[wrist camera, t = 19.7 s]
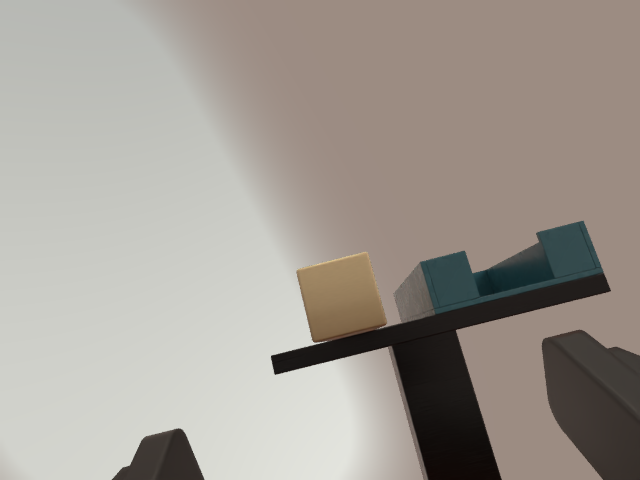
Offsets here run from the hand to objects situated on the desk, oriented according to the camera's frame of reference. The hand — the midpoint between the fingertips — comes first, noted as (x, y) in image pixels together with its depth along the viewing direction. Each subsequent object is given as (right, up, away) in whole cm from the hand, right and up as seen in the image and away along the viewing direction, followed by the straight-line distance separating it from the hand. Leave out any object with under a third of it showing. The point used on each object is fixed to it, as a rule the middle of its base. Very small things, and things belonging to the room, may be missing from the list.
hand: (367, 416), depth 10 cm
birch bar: (+1, -2, +17) cm, 17 cm away
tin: (+10, -1, +22) cm, 25 cm away
